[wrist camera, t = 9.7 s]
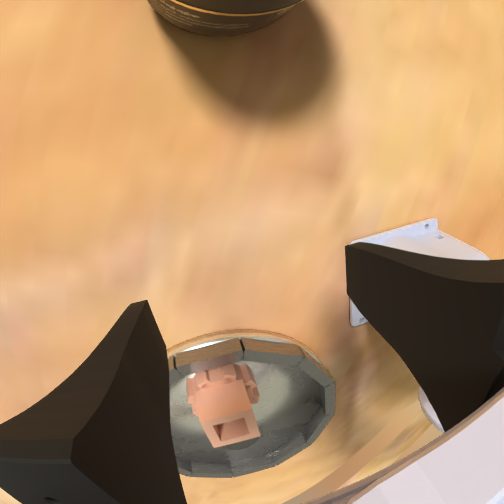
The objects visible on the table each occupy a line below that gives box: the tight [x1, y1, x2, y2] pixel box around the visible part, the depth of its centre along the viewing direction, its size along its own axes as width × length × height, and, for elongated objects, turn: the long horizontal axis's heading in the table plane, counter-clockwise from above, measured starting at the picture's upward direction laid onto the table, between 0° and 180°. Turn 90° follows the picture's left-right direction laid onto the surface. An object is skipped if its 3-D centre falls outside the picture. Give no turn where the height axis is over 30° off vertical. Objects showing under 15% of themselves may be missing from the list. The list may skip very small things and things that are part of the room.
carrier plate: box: [167, 329, 335, 478], centre depth 25 cm, size 19×19×5 cm
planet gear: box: [186, 363, 261, 448], centre depth 22 cm, size 5×5×5 cm
